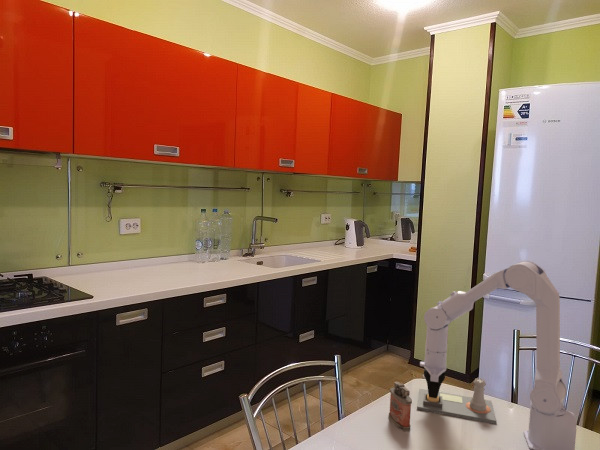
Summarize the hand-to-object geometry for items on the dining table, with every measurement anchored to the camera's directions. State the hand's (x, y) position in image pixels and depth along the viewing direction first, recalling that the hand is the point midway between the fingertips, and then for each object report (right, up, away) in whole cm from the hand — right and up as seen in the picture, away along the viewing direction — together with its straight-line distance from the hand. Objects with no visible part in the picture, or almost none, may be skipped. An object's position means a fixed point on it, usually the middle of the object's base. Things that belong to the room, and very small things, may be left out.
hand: (432, 396), depth 122 cm
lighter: (-12, -3, -10) cm, 16 cm away
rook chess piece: (+12, -3, -2) cm, 12 cm away
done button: (0, -2, 0) cm, 1 cm away
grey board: (+6, -3, 0) cm, 7 cm away
